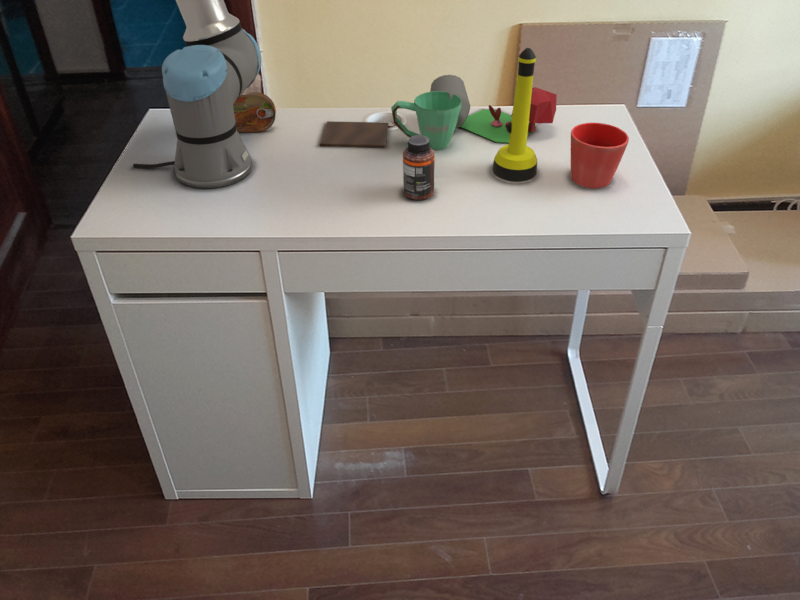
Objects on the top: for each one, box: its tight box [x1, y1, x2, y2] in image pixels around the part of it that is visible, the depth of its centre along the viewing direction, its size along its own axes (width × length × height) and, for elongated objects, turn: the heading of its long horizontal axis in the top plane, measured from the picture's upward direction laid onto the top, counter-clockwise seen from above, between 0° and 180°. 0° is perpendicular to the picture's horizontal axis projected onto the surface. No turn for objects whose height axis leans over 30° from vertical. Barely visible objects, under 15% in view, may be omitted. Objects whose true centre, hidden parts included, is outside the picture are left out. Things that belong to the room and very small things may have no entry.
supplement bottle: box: [402, 134, 436, 201], centre depth 129 cm, size 6×6×11 cm
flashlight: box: [491, 47, 538, 185], centre depth 131 cm, size 25×9×9 cm
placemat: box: [319, 120, 389, 148], centre depth 152 cm, size 14×11×1 cm
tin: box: [233, 91, 277, 133], centre depth 152 cm, size 15×3×8 cm, turn 92°
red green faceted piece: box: [460, 86, 558, 144], centre depth 151 cm, size 15×20×9 cm
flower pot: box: [570, 122, 630, 190], centre depth 133 cm, size 11×11×10 cm
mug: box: [390, 91, 462, 151], centre depth 145 cm, size 15×10×10 cm
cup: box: [429, 74, 471, 130], centre depth 152 cm, size 10×9×10 cm
